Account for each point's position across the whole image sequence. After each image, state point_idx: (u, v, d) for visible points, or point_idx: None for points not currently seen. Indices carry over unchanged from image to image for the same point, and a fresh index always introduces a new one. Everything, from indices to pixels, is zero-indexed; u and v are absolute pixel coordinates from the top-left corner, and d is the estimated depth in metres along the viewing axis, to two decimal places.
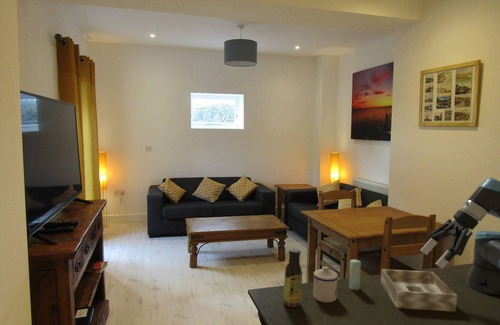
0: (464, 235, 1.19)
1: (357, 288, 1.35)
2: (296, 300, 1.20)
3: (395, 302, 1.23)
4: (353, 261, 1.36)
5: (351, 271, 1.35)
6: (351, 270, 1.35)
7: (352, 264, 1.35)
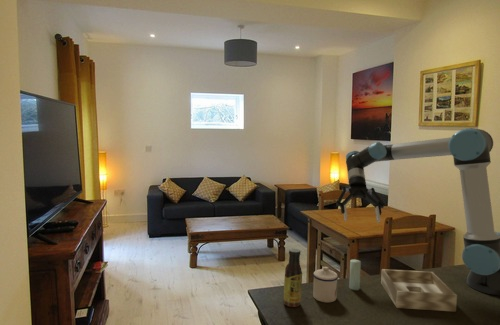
0: None
1: (357, 288, 1.35)
2: (296, 300, 1.20)
3: (395, 302, 1.23)
4: (353, 261, 1.36)
5: (351, 271, 1.35)
6: (351, 270, 1.35)
7: (352, 264, 1.35)
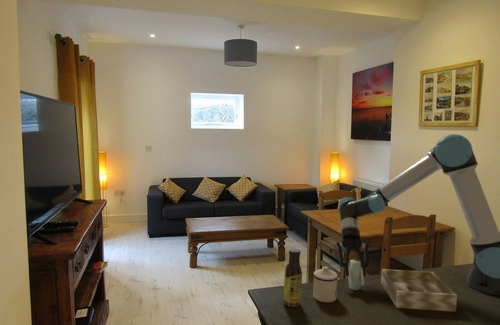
0: None
1: (357, 288, 1.35)
2: (296, 300, 1.20)
3: (395, 302, 1.23)
4: (353, 261, 1.36)
5: (351, 271, 1.35)
6: (351, 270, 1.35)
7: (352, 264, 1.35)
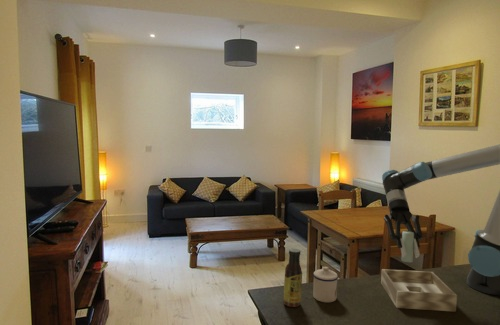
0: (386, 223, 1.37)
1: (411, 260, 1.29)
2: (296, 300, 1.20)
3: (395, 302, 1.23)
4: (406, 232, 1.30)
5: (404, 242, 1.29)
6: (404, 241, 1.29)
7: (405, 235, 1.29)
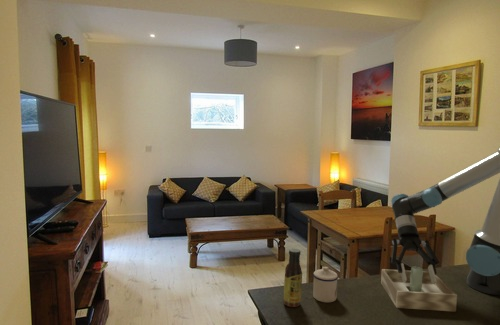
0: (393, 246, 1.37)
1: None
2: (296, 300, 1.20)
3: (395, 302, 1.23)
4: (415, 268, 1.30)
5: (413, 278, 1.29)
6: (412, 277, 1.29)
7: (414, 271, 1.29)
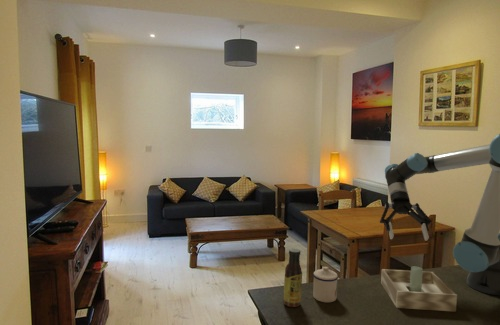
0: None
1: None
2: (296, 300, 1.20)
3: (395, 302, 1.23)
4: (414, 268, 1.30)
5: (413, 278, 1.29)
6: (412, 277, 1.29)
7: (414, 271, 1.29)
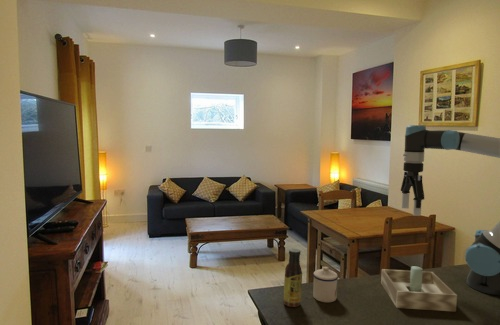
0: (417, 181, 1.37)
1: None
2: (296, 300, 1.20)
3: (395, 302, 1.23)
4: (414, 268, 1.29)
5: (413, 279, 1.29)
6: (412, 277, 1.29)
7: (414, 271, 1.28)
